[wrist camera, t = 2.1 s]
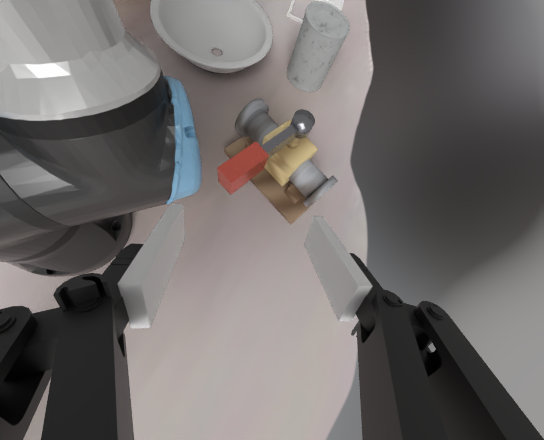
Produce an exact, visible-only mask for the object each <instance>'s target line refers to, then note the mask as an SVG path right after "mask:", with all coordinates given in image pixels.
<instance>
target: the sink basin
mask: <svg viewBox="0 0 544 440" xmlns="http://www.w3.org/2000/svg"><path fill="white" fill-rule="evenodd" d="M150 15H151V20H152V23H153V25H154V27H155V29H156V31H157V33H158V34H159V36H160V37H161V38H162V40H163V41H164V42H165V43H166V44H167V45H168V46H169V47H170V48H172V49H173V50H174V51H175V52H177V53H178V54H180V55H181V56H183V57H185V58H186V59H187V60H189V61H190V62H191V63H193V64H195V65H196V66H198V67H200V68H203V69H205V70H208V71H211V72H216V73H232V72H237V71H240V70H242V69H244V68H246V67H248V66H251V65H253V64H255V63H257V62H259V61H260V60H261V59H263V58H264V57H265V56H266V54H267V53H268V51H269V50H270V47H271V45H272V40H273V31H272V26H271V23H270V20H269V18H268V16H267V14H266V13H265V11H264V10H263V9H262V7H261V6H260V5H259V4H258V3H257V2H256V1H255V0H151V5H150ZM213 49H219V50H221V51H222V55H220V56H216V55H214V54H213V53H212V50H213Z"/></svg>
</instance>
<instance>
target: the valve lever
mask: <svg viewBox="0 0 544 440" xmlns="http://www.w3.org/2000/svg"><path fill="white" fill-rule="evenodd" d="M314 123H315V119H314V116H313V115H312V114H311V113H310V112H309V111H307V110H298V111H296V113H295V114H294V117H293V119H292V121H291V123H290V126H289V127H287V128H286V129H284V130H283V131H282V132H280V133H279V134H277V135H276V136H274V137H273V138H272V139H270V140H269V141H267V142H266V143H264V144H263V145H262V146H260V145H259V144H258V143H257V142H254V143H253V144H251V145H250V146H248V147H247V148H245V149H244V150H242V151H241V152H240V153H238V154H237V155H235V156H234V157H232V158H231V159H229V160H228V161H226V162H225V163H223V164H222V165H221V166H219V167H218V168H217V170H218V181H219V182H220V184H221V185H222V186H223V187H224V188H225V189H226V190H227V191H228V192H229V193H230V195H231V194H232V193H234V192H235V191H236V190H237V189H239V188H240V187H241V186H243V185H244V184H245V183H247V182H248V181H249V180H251V179H252V178H253V177H255V176H256V175H257V174H259V173H260V172H261V171H262V170H264V168H265V165H266V162H267V160H268V159H269V158H270V157H271V156H273V155H274V154H275V153H277V152H278V151H279V150H281V149H282V148H283V147H285V146H286V145H287V144H289V143H290V142H291V141H293V140H294V139H296V138H299V139H302V138H305V137H306V136H307V135H308V134H309V132H310V130H311V129H312V127H313V125H314Z"/></svg>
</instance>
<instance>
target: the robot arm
mask: <svg viewBox="0 0 544 440" xmlns="http://www.w3.org/2000/svg"><path fill="white" fill-rule="evenodd" d="M201 182H202V166H201V157H200V150H199V145H198V139H197V136H196V134H195V127H194V120H193V115H192V111H191V107H190V103H189V100H188V97H187V94H186V91H185V89H184V87H183V85H182V83H181V82H180V81H179V80H177V79H175V78H171V77H170V76H163V73H162V70H161V67H160V64H159V61H158V59H157V57H156V55H155V54H154V53H153V52H152V51H151V50H150V49H149V48H148V47H146V46H145V45H144V44H142V43H141V42H140V41H138V40H137V39H136V38H135V37H133V36H132V35H131V34H129V33H128V32H127V31H126V30H125V28H124V27H123V25H122V22H121V20H120V17H119V15H118V12H117V10H116V7H115V5H114V2H113V0H0V261H2V262H7V263H10V264H12V265H14V266H17V267H19V268H21V269H24V270H26V271H29V272H31V273H35V274H39V275H44V276H74V275H79V276H76V277H73V278H71V279H70V280H68V281H66V282H64V283H63V284H62V285H60V286H59V287H58V288H57V289H56V291H55V293H54V297H55V299H56V301H57V303H58V304H59V306H60V307H59V308H55V309H50V310H46V311H42V312H37V313H33V314H32V312H31V311H30V309H29V308H26V307H24V306H12V307H8V308H4V309H0V440H23V438H24V436H25V434H26V432H27V429H28V427H29V425H30V423H31V421H32V418H33V416H34V414H35V412H36V409H37V407H38V405H39V403H40V400H41V398H42V396H43V394H44V391H45V389H46V387H47V385H48V383H49V380H50V378H51V383H50V389H49V395H48V401H47V407H46V413H45V419H44V425H43V431H42V437H41V440H134V433H133V422H132V411H131V399H130V388H129V376H128V365H127V353H126V342H125V335H124V332H123V331H124V329H125V327H126V325H127V323H128V321H129V324H130V327H131V328H151V325H152V322H153V320H154V317H155V315H156V312H157V309H158V307H159V304H160V302H161V299H162V297H163V294H164V291H165V289H166V286H167V284H168V281H169V279H170V276H171V273H172V271H173V268H174V266H175V263H176V261H177V258H178V255H179V253H180V250H181V248H182V245H183V243H184V240H185V227H184V208H183V204H174V203H172V202H173V201H175V200H178V199H181V198H184V197H187V196H190V195H193V194H194V193H196V192H197V191H198V190H199V188H200V186H201ZM170 203H171V204H170ZM163 204H170V205H169V207H168V208H167V210H166V211H165V213H164V214H163V216H162V217H161V219H160V220H159V222H158V223H157V225H156V226H155V228H154V229H153V231H152V232H151V234H150V235H149V237H148V238H147V240H146V241H145V243H144V244H130V245H128V246H127V247H125V248H124V249H122V248H123V247H124V245H125V244H126V242H127V240H128V237H129V235H130V231H131V214H130V212H135V211H139V210H143V209H147V208H151V207H155V206H159V205H163ZM304 245H305V248H306V250H307V252H308V254H309V257H310V259H311V261H312V263H313V266H314V268H315V270H316V272H317V274H318V277H319V279H320V281H321V283H322V286H323V288H324V290H325V292H326V294H327V297H328V299H329V301H330V303H331V306H332V308H333V310H334V312H335V314H336V317H337V319H338V321H352V319H353V317H354V316H355V314H356V315H357V317H358V319H359V321H358V323H357V324H356V326H355V327H354V329H353V330H352V333H351V335H354V334H355V332H356V331H357V336H356V337H357V344H358V362H359V380H360V399H361V418H362V436H363V440H544V439H543V438H542V436H541V435H540V434H539V433H538V431H537V430H536V429H535V427H534V426H533V425H532V423H531V422H530V421H529V419H528V418H527V417H526V416H525V414H524V413H523V412H522V411H521V409H520V408H519V406H518V405H517V404H516V403H515V401H514V400H513V399H512V397H511V396H510V395H509V393H508V392H507V391H506V389H505V388H504V387H503V386H502V384H501V383H500V382H499V380H498V379H497V378H496V376H495V375H494V374H493V373H492V371H491V370H490V369H489V367H488V366H487V365H486V363H485V362H484V361H483V360H482V358H481V357H480V356H479V354H478V353H477V352H476V350H475V349H474V348H473V346H472V345H471V344H470V343H469V341H468V340H467V339H466V338H465V336H464V335H463V334H462V332H461V331H460V330H459V328H458V327H457V326H456V324H455V323H454V322H453V320H452V319H451V318H450V317H449V315H448V314H447V313H446V312H445V311H444V310H443V309H442V308H440V307H439V306H437V305H435V304H434V303H431V302H428V301H422V302H420V304H419V305H418V306H417V307H416V306H413V305H409V304H406V303H403V301H402V300H401V299H400V298H399V297H398V296H397V295H395V294H394V293H392V292H390V291H388V290H383V288H382V287H381V286H380V284H379V283H378V282H377V281H376V279H375V278H374V277H373V275H372V274H371V273H370V271H369V270H368V269H367V267H366V266H365V265H364V263H363V262H362V261H361V259H360V258H358V257H357V256H356V255H355V254H353V253H349V252H348V251H347V250H346V248H345V247H344V245H343V244H342V243H341V241H340V240H339V238H338V237H337V236H336V234H335V233H334V231H333V230H332V229H331V227H330V226H329V224H328V223H327V222H326V220H325V219H324V218H323V217H322V216H313V219H312V222H311V225H310V228H309V231H308V234H307V238H306V241H305V244H304ZM118 253H119V254H118ZM117 254H118V255H117ZM116 255H117V256H116ZM115 256H116V258H115V259H114V260H113V261H112V263H111V265H109V266H108V268H107V269H106V270H105V272H104V273H103V274H102V275H101V274H95V273H89V274H84V273H88V272H91V271H93V270H96V269H98V268H100V267H102V266H103V265H105V264H106V263H108V262H109V261H111V260H112V259H113V258H114V257H115ZM80 274H82V275H80ZM431 343H433V344H434V346H435V348H436V350H435V351H434V352H431V351H430V349H429V348H428V346H429V345H430V344H431Z"/></svg>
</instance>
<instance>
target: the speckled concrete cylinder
mask: <svg viewBox="0 0 544 440" xmlns="http://www.w3.org/2000/svg"><path fill="white" fill-rule="evenodd" d="M349 31H350V25H349V21H348V19H347V18H346V16H345V15H344V14H343V13H342V11H340V10H339V9H338V8H337V7H335V6H333V5H331V4H329V3H326V2H322V1H316V2H312V3H310V4H309V5H308V6H307V8H306V12H305V16H304V19H303V22H302V25H301V29H300V32H299V35H298V38H297V41H296V45H295V48H294V51H293V54H292V58H291V61H290V64H289V67H288V70H287V76H288V78H289V80H290V82H291V83H292V84H293V85H294V86H295V87H296V88H298V89H300V90H302V91H305V92H314V91H317V90H318V89H319V88H320V87H321V85H322V82H323V81H324V79H325V77H326V75H327V73H328V71H329V69H330V67H331V65H332V63H333V61H334V59H335V57H336V55H337V53H338V51H339V50H340V48H341V46H342V44H343V42H344V40H345V38H346V36H347V35H348V33H349Z"/></svg>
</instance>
